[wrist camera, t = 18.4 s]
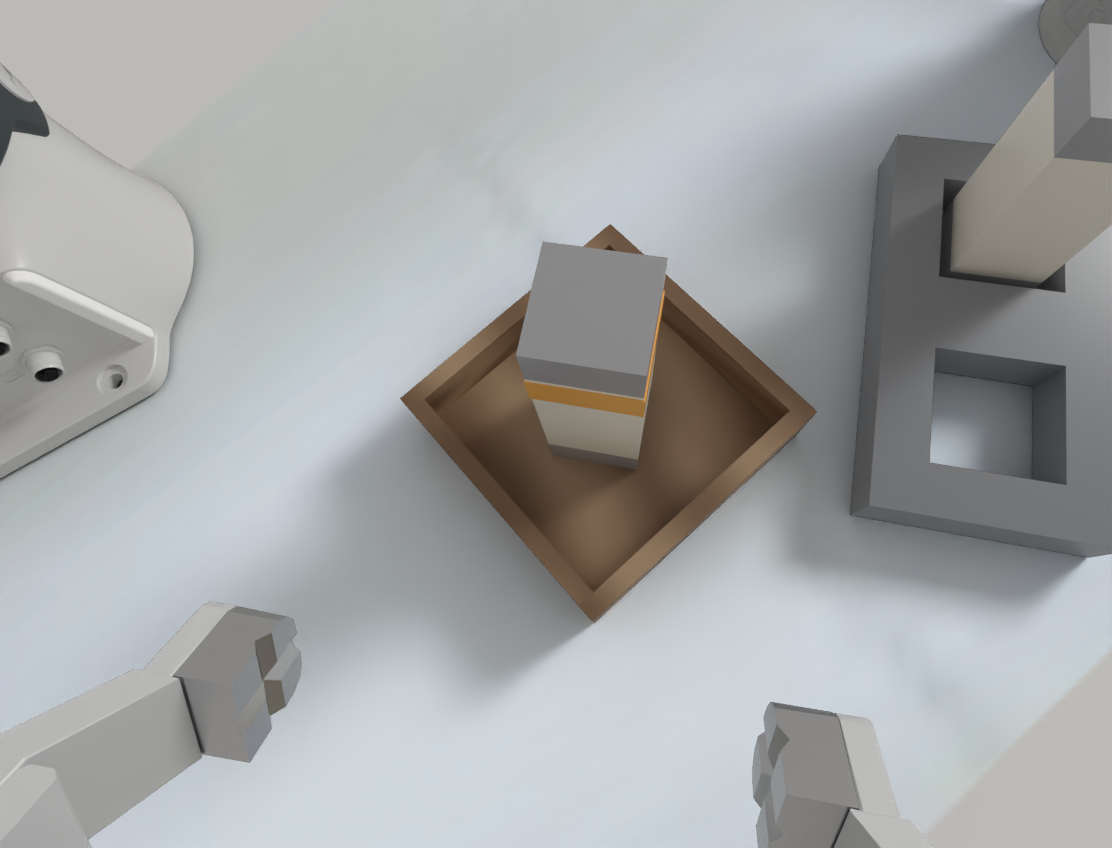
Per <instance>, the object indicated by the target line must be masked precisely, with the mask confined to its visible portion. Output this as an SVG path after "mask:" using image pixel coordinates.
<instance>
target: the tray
mask: <svg viewBox="0 0 1112 848" xmlns="http://www.w3.org/2000/svg"><path fill="white" fill-rule="evenodd" d="M583 247H587V248H595V249H603V250H610V251H618V252H625V253H633V254H641V255H644V254H643V253H642V252H641V251H639V250H638V249H637V248H636V247H635V246H634V245H633V244H632V243H631V242H629V241H628V240H627V239H626V238H625V237H624V236H623V235H622V234H621V233H620V232H618V231H617V230H616V229H615V228H614V227H613V226H612V225H611V224H610V225H608V226H607V227H606V228H605V229H604V230H602V231H601V232H600V233H599V234H598V235H596V236H595V237H594V238H593V239H592V240H590V241H589V242H588V243H587V244H586V245H584V246H583ZM663 291H665V294H664V302H663V310H662V316H661V322H660V327H659V333H658V339H657V345H656V353H655V361H654V369H653V377H652V384H651V392H650V397H649V403H648V409H647V415H646V420H645V426H644V432H643V437H642V443H641V449H640V455H639V460H638V466H637V470H633V469H628V468H622V467H616V466H611V465H605V464H600V463H594V462H588V461H583V460H577V459H571V458H566V457H560V456H554V455H553V454H552V452H551V449H550V446H549V444H548V441H547V438H546V436H545V433H544V430H543V428H542V425H541V422H540V419H539V417H538V414H537V411H536V409H535V406H534V403H533V401H532V399H530V398H529V395H528V393H527V390H526V388H525V385H524V376H523V374H522V371H521V368H520V366H519V363H518V360H517V358H516V353H517V348H518V344H519V340H520V336H521V332H522V327H523V323H524V319H525V315H526V310H527V306H528V302H529V298H530V294H531V290H530V291H529V292H528V293H527V294H525V295H524V296H523V297H522V298H521V299H519V300H518V301H517V302H516V303H515V304H513V305H512V306H511V307H510V308H508V309H507V310H506V311H505V312H504V313H502V314H501V315H500V316H499V317H498V318H496V319H495V320H494V321H493V322H492V323H490V324H489V325H488V326H487V327H486V328H484V329H483V330H482V331H481V332H480V333H478V334H477V335H476V336H475V337H474V338H472V339H471V340H470V341H469V342H468V343H466V344H465V345H464V346H463V347H462V348H460V349H459V350H458V351H457V352H456V353H454V354H453V355H452V356H451V357H449V358H448V359H447V360H446V361H445V362H443V363H442V364H441V365H440V366H439V367H437V368H436V369H435V370H434V371H433V372H431V373H430V374H429V375H428V376H427V377H425V378H424V379H423V380H422V381H421V382H419V383H418V384H417V385H416V386H415V387H413V388H412V389H411V390H410V391H409V392H407V393H406V394H405V395H404V396H403V397H401V398H400V399H401V400H402V401H403V403H404V404H405V405H406V406H407V407H408V408H409V410H410V411H411V412H412V413H413V414H414V415H415V417H416V418H417V419H418V420H419V421H420V422H421V423H422V425H423V426H424V427H425V428H426V429H427V430H428V432H429V433H430V434H431V435H432V436H433V437H434V439H435V440H436V441H437V442H438V443H439V444H440V446H441V447H442V448H443V449H444V450H445V451H446V452H447V454H448V455H449V456H450V457H451V458H452V459H453V461H454V462H455V463H456V464H457V465H458V466H459V468H460V469H461V470H462V471H463V472H464V473H465V474H466V476H467V477H468V478H469V479H470V480H471V481H472V483H473V484H474V485H475V486H476V487H477V488H478V490H479V491H480V492H481V493H482V494H483V495H484V497H485V498H486V499H487V500H488V501H489V502H490V503H491V505H492V506H493V507H494V508H495V509H496V510H497V512H498V513H499V514H500V515H501V516H502V517H503V519H504V520H505V521H506V522H507V523H508V524H509V525H510V527H511V528H512V529H513V530H514V531H515V532H516V534H517V535H518V536H519V537H520V538H521V539H522V541H523V542H524V543H525V544H526V545H527V546H528V547H529V549H530V550H531V551H532V552H533V553H534V554H535V556H536V557H537V558H538V559H539V560H540V561H541V563H542V564H543V565H544V566H545V567H546V568H547V570H548V571H549V572H550V573H551V574H552V575H553V576H554V578H555V579H556V580H557V581H558V582H559V583H560V585H561V586H562V587H563V588H564V589H565V590H566V592H567V593H568V594H569V595H570V596H571V597H572V598H573V600H574V601H575V602H576V603H577V604H578V605H579V607H580V608H581V609H582V610H583V611H584V612H585V614H586V615H587V616H588V617H589V618H590V619H591V621H593V622H596V621H597V620H598V619H600V618H601V617H602V616H603V615H604V614H605V613H606V612H607V611H608V610H609V609H610V608H611V607H612V606H613V605H615V604H616V603H617V602H618V601H619V600H620V599H621V598H622V597H623V596H624V595H625V594H626V593H627V592H629V591H630V590H631V589H632V588H633V587H634V586H635V585H636V584H637V583H638V582H639V581H640V580H641V579H642V578H644V577H645V576H646V575H647V574H648V573H649V572H650V571H651V570H652V569H653V568H654V567H655V566H656V565H657V564H659V563H660V562H661V561H662V560H663V559H664V558H665V557H666V556H667V555H668V554H669V553H670V552H671V551H672V550H674V549H675V548H676V547H677V546H678V545H679V544H680V543H681V542H682V541H683V540H684V539H685V538H686V537H687V536H689V535H690V534H691V533H692V532H693V531H694V530H695V529H696V528H697V527H698V526H699V525H700V524H701V523H702V522H704V521H705V520H706V519H707V518H708V517H709V516H710V515H711V514H712V513H713V512H714V511H715V510H716V509H717V508H719V507H720V506H721V505H722V504H723V503H724V502H725V501H726V500H727V499H728V498H729V497H730V496H731V495H732V494H734V493H735V492H736V491H737V490H738V489H739V488H740V487H741V486H742V485H743V484H744V483H745V482H746V481H747V480H749V479H750V478H751V477H752V476H753V475H754V474H755V473H756V472H757V471H758V470H759V469H760V468H761V467H763V466H764V465H765V464H766V463H767V462H768V461H769V460H770V459H771V458H772V457H773V456H774V455H775V454H776V453H778V452H779V451H780V450H781V449H782V448H783V447H784V446H785V445H786V444H787V443H788V442H789V441H790V440H791V439H793V438H794V437H795V436H796V435H797V434H798V433H799V431H800V430H801V429H802V428H803V427H804V426H805V425H806V424H807V422H808V421H809V420H810V419H811V418H812V417H813V416H814V415H815V413H816V412H817V411H816V410H815V409H814V408H813V407H812V406H811V405H810V404H808V403H807V402H806V401H805V400H804V399H803V398H802V397H801V396H800V395H798V394H797V393H796V392H795V391H794V390H793V389H792V388H791V387H790V386H789V385H787V384H786V383H785V382H784V381H783V380H782V379H781V378H780V377H779V376H777V375H776V374H775V373H774V372H773V371H772V370H771V369H770V368H769V367H768V366H766V365H765V364H764V363H763V362H762V361H761V360H760V359H759V358H758V357H757V356H755V355H754V354H753V353H752V352H751V351H750V350H749V349H748V348H747V347H745V346H744V345H743V344H742V343H741V342H740V341H739V340H738V339H737V338H736V337H734V336H733V335H732V334H731V333H730V332H729V331H728V330H727V329H726V328H724V327H723V326H722V325H721V324H720V323H719V322H718V321H717V320H716V319H715V318H713V317H712V316H711V315H710V314H709V313H708V312H707V311H706V310H705V309H703V308H702V307H701V306H700V305H699V304H698V303H697V302H696V301H695V300H694V299H692V298H691V297H690V296H689V295H688V294H687V293H686V292H685V291H684V290H682V289H681V288H680V287H679V286H678V285H677V284H676V283H675V282H674V281H673V280H671V279H670V278H669V277H668V276H667V275H665V282H664V290H663Z"/></svg>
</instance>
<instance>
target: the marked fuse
mask: <svg viewBox="0 0 1112 848" xmlns="http://www.w3.org/2000/svg"><path fill="white" fill-rule="evenodd" d="M667 259H668V258H664V257H656V256H648V255H641V254H633V253H625V252H618V251H610V250H603V249H595V248H587V247H580V246H572V245H564V244H557V243H549V242H543V243H542V247H541V252H540V256H539V260H538V264H537V268H536V273H535V277H534V281H533V285H532V289H531V294H530V298H529V302H528V306H527V310H526V315H525V319H524V323H523V327H522V332H521V336H520V340H519V344H518V348H517V353H516V358H517V360H518V363H519V366H520V368H521V371H522V374H523V376H524V385H525V388H526V390H527V393H528V395H529V398H530V399H532V401H533V403H534V406H535V409H536V411H537V414H538V417H539V419H540V422H541V425H542V428H543V430H544V433H545V436H546V438H547V441H548V444H549V446H550V449H551V452H552V454H553V455H554V456H560V457H566V458H571V459H577V460H583V461H588V462H594V463H600V464H605V465H611V466H616V467H622V468H628V469H633V470H637V466H638V460H639V455H640V449H641V443H642V437H643V432H644V426H645V420H646V415H647V409H648V403H649V397H650V392H651V384H652V377H653V369H654V361H655V353H656V345H657V339H658V333H659V327H660V322H661V316H662V310H663V302H664V294H665V291H663V290H664V282H665V275H666V267H667Z"/></svg>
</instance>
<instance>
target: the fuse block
mask: <svg viewBox="0 0 1112 848" xmlns="http://www.w3.org/2000/svg"><path fill="white" fill-rule="evenodd" d="M995 145H996V144H988V143H978V142H968V141H958V140H948V139H938V138H928V137H918V136H908V135H898V134H897V136H896V138H895V140H894V141H893V143H892V145H891V147H890V149H889V150H888V152H887V154H886V156H885V158H884V159H883V161H882V163H881V165H880V167H879V174H878V186H877V198H876V210H875V222H874V234H873V246H872V258H871V270H870V282H869V294H868V306H867V318H866V330H865V342H864V354H863V366H862V378H861V390H860V402H859V414H858V426H857V438H856V450H855V462H854V474H853V486H852V498H851V510H850V515H852V516H858V517H863V518H869V519H874V520H880V521H886V522H891V523H897V524H902V525H908V526H914V527H919V528H925V529H930V530H936V531H942V532H947V533H953V534H958V535H964V536H970V537H975V538H981V539H986V540H992V541H997V542H1003V543H1009V544H1014V545H1020V546H1025V547H1031V548H1037V549H1042V550H1048V551H1053V552H1059V553H1065V554H1070V555H1076V556H1081V557H1087V558H1090V557H1096V556H1102V555H1108V554H1112V225H1111V226H1109V227H1108V228H1107V229H1106V230H1105V231H1103V232H1102V233H1101V234H1100V235H1099V236H1097V237H1096V238H1095V239H1094V240H1093V241H1091V242H1090V243H1089V244H1088V245H1087V246H1085V247H1084V248H1083V249H1082V250H1081V251H1079V252H1078V253H1077V254H1076V255H1075V256H1073V257H1072V258H1071V259H1070V260H1069V261H1067V262H1066V263H1065V264H1064V265H1063V266H1061V267H1060V268H1059V269H1058V270H1057V271H1055V272H1054V273H1053V274H1052V275H1051V276H1049V277H1048V278H1047V279H1046V280H1045V281H1043V282H1042V283H1041V284H1040V285H1039V286H1037V287H1036V288H1035V289H1032V288H1024V287H1016V286H1008V285H1001V284H993V283H985V282H977V281H969V280H961V279H954V278H946V277H939V268H940V248H941V229H942V212H944V211H945V210H946V209H947V207H948V206H949V205H950V203H951V202H952V201H953V199H954V198H955V197H956V195H957V194H958V193H959V192H960V190H961V189H962V188H963V186H964V185H965V184H966V182H967V181H968V180H969V179H970V177H971V176H972V175H973V173H974V172H975V171H976V169H977V168H978V167H979V166H980V164H981V163H982V162H983V160H984V159H985V158H986V156H987V155H988V154H989V153H990V151H991V150H992V149H993V147H994V146H995ZM934 372H941V373H948V374H955V375H962V376H968V377H975V378H982V379H989V380H996V381H1002V382H1009V383H1016V384H1023V385H1030V386H1033V413H1032V479H1026V478H1020V477H1014V476H1008V475H1002V474H996V473H990V472H983V471H977V470H971V469H965V468H959V467H953V466H947V465H941V464H935V463H929V461H930V442H931V423H932V403H933V384H934Z"/></svg>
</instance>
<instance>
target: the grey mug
mask: <svg viewBox="0 0 1112 848" xmlns="http://www.w3.org/2000/svg"><path fill="white" fill-rule="evenodd" d="M1089 23H1097V24H1110V25H1112V0H1047V1H1046V2H1045V4H1044V5H1043V8H1042V11H1041V13H1040V18H1039V31H1040V37H1041V40H1042V42H1043V45H1044V48H1045V49H1046V51H1047V52H1048V54H1049V55H1050V57H1051V58H1052V59H1053V60H1054V62H1055V63H1056V64H1058V63H1059V61H1060V60H1061V59H1062V57H1063V56H1064V55H1065V54H1066V52H1067V51H1068V50H1069V48H1070V47H1071V46H1072V44H1073V43H1074V42H1075V40H1076V39H1077V38H1078V37H1079V35H1080V34H1081V33H1082V31H1083V30H1084V29H1085V27H1086V26H1087V25H1088V24H1089Z"/></svg>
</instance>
